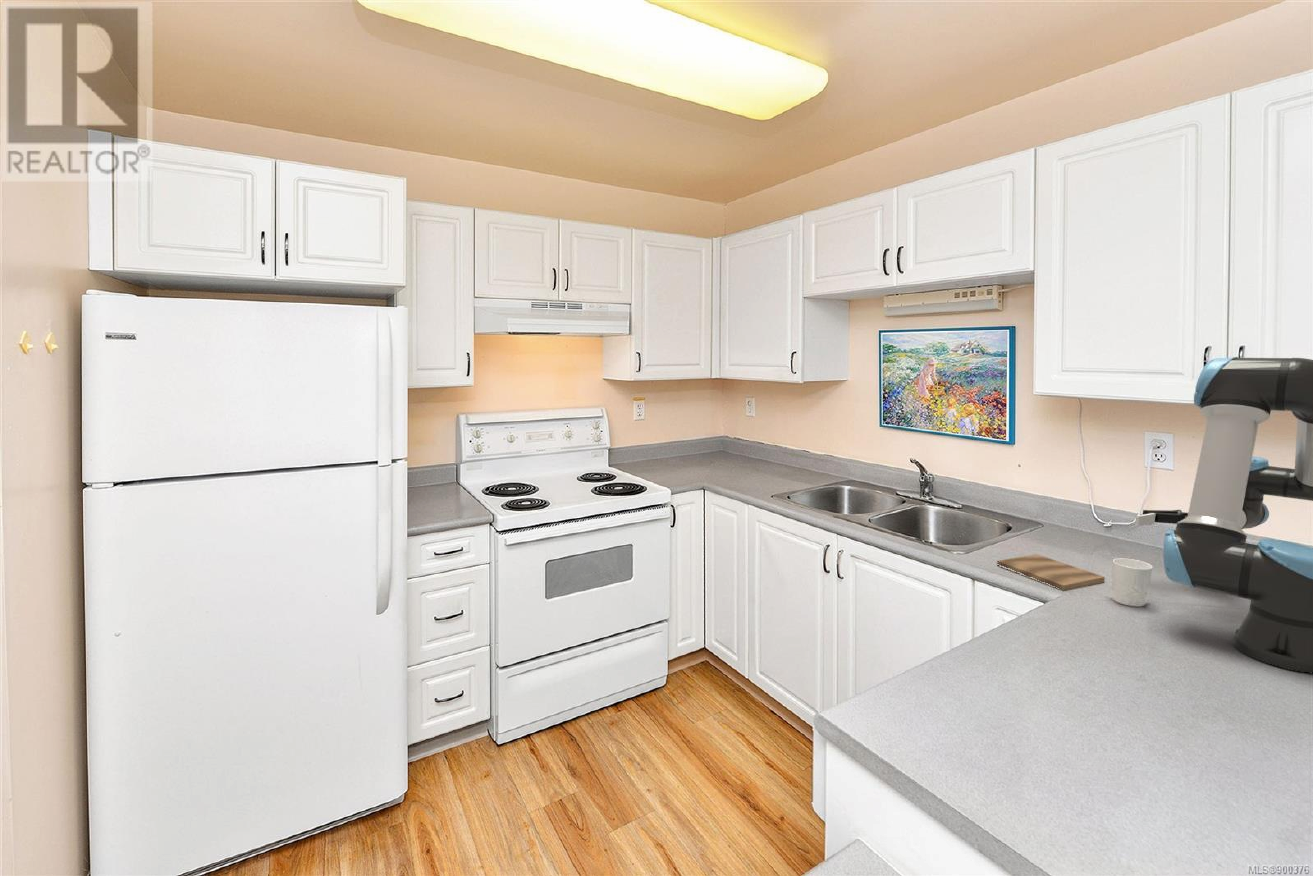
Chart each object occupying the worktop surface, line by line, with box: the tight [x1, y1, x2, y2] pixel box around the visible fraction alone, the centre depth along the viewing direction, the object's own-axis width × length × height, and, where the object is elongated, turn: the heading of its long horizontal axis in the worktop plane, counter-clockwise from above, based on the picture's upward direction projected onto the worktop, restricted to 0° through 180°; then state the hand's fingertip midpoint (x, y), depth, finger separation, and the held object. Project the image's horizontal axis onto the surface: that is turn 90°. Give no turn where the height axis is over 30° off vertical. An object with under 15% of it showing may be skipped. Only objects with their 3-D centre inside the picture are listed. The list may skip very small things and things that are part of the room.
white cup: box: [1111, 557, 1154, 608], centre depth 152 cm, size 8×8×10 cm
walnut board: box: [996, 553, 1106, 591], centre depth 171 cm, size 20×16×2 cm
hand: (1166, 528), depth 151 cm, fingers open, 13 cm apart
